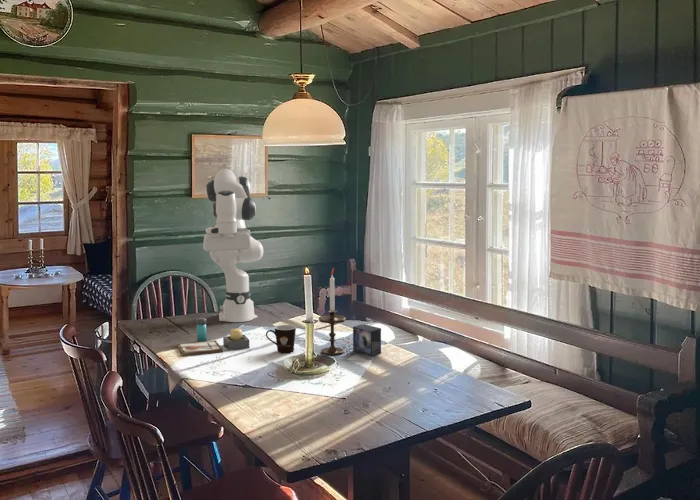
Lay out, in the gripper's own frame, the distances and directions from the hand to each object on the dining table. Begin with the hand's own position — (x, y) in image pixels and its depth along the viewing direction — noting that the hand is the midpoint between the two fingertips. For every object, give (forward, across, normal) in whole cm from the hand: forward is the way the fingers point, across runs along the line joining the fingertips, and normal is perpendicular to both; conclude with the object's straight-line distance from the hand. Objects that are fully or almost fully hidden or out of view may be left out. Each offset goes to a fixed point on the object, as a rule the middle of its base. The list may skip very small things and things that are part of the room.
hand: (227, 260), depth 292 cm
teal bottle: (+34, +12, +1) cm, 37 cm away
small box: (+35, -46, +44) cm, 73 cm away
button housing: (+35, 0, +14) cm, 37 cm away
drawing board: (+35, +16, +13) cm, 40 cm away
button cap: (+32, +1, +14) cm, 35 cm away
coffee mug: (+35, -15, +28) cm, 48 cm away
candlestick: (+35, -33, +39) cm, 62 cm away
